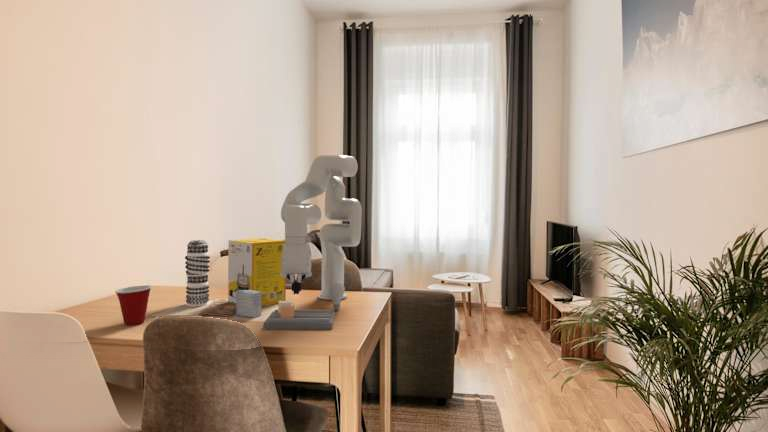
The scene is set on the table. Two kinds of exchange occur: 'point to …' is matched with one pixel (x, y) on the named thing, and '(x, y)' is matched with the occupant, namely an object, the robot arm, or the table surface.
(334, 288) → the lightbulb
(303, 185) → the robot arm
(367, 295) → the table surface
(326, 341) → the table surface
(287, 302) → the off-white block
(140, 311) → the plastic cup
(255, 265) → the packaging box
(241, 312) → the medicine box
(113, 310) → the table surface
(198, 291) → the decorative candle
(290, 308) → the orange cube
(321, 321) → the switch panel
